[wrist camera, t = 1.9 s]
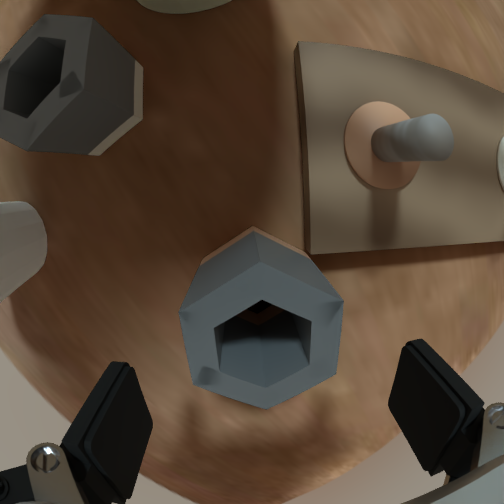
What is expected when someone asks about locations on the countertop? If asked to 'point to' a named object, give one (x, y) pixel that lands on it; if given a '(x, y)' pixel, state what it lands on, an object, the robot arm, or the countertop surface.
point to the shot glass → (20, 245)
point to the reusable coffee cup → (181, 5)
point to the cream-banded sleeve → (68, 88)
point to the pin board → (435, 183)
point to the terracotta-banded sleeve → (260, 321)
